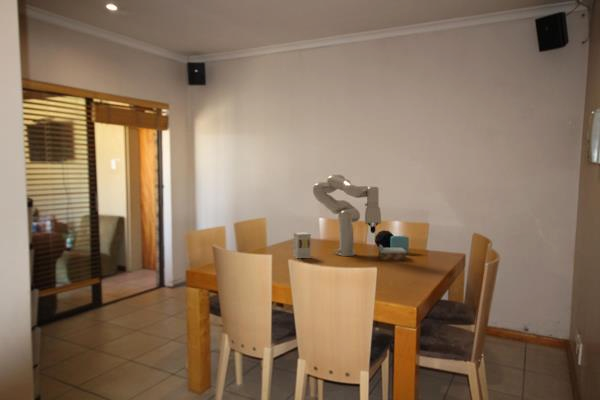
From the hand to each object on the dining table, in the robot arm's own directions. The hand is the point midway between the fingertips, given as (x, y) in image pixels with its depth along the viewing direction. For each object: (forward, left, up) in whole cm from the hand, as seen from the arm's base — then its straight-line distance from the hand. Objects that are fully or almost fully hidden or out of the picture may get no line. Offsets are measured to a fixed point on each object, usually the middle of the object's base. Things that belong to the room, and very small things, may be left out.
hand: (372, 232), depth 279 cm
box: (+13, 0, -18) cm, 22 cm away
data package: (+22, +19, -18) cm, 34 cm away
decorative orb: (+14, +32, -18) cm, 39 cm away
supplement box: (-47, +4, -18) cm, 51 cm away
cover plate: (+13, 0, -14) cm, 19 cm away
